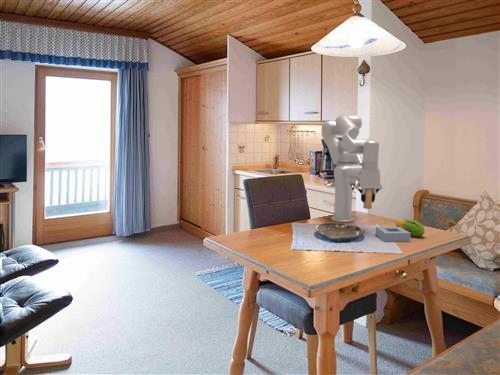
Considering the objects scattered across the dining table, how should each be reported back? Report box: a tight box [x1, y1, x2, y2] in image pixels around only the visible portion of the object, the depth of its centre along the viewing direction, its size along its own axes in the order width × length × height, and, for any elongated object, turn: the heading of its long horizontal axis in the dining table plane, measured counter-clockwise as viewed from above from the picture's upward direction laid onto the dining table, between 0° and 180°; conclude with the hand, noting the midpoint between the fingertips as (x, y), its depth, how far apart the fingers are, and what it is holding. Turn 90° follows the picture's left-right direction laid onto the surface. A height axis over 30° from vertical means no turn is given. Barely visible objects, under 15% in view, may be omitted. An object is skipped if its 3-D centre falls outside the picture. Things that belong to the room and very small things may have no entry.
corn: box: [394, 217, 426, 238], centre depth 212 cm, size 7×8×20 cm
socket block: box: [375, 226, 411, 243], centre depth 203 cm, size 12×12×4 cm
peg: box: [362, 189, 373, 210], centre depth 213 cm, size 4×4×12 cm
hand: (367, 201), depth 214 cm, fingers closed on peg, 4 cm apart
